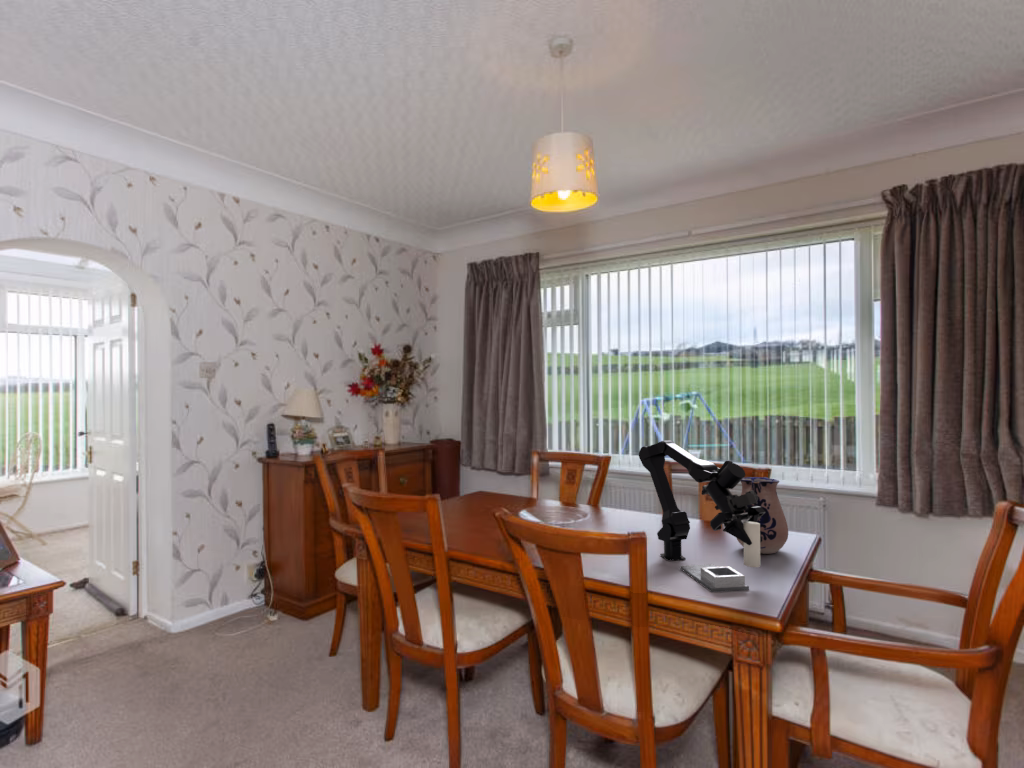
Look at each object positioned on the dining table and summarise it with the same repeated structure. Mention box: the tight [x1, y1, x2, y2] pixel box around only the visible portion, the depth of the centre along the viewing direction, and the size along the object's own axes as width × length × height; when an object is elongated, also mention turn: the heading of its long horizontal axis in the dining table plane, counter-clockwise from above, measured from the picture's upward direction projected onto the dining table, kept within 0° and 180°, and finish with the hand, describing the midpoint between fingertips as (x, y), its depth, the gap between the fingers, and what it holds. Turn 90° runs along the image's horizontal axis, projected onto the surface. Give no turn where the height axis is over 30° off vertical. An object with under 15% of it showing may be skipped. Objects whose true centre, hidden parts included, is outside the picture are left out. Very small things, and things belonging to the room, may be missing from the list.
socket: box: [680, 563, 750, 593], centre depth 164 cm, size 20×11×4 cm, turn 7°
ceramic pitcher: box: [736, 476, 789, 555], centre depth 195 cm, size 18×21×25 cm
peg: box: [743, 521, 761, 568], centre depth 158 cm, size 4×4×12 cm
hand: (756, 543), depth 157 cm, fingers closed on peg, 4 cm apart
